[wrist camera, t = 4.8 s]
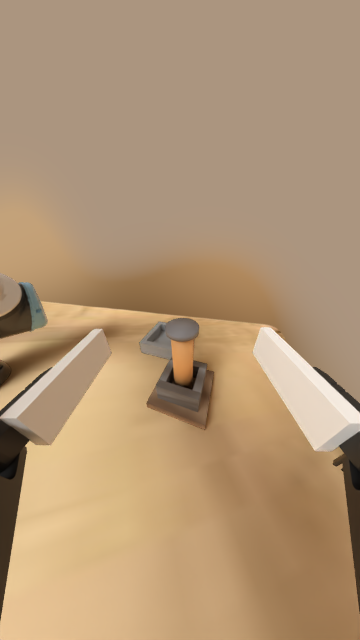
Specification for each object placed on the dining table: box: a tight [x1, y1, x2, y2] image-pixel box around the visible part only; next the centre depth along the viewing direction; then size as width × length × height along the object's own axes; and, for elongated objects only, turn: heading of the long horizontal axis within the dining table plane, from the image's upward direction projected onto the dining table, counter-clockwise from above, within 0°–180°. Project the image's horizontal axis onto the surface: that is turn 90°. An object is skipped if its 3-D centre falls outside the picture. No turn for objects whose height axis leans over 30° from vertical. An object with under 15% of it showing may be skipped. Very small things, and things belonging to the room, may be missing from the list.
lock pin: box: [165, 318, 199, 390], centre depth 26 cm, size 6×6×16 cm
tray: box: [139, 322, 172, 360], centre depth 44 cm, size 13×13×4 cm
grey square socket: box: [146, 357, 214, 430], centre depth 29 cm, size 12×12×6 cm
